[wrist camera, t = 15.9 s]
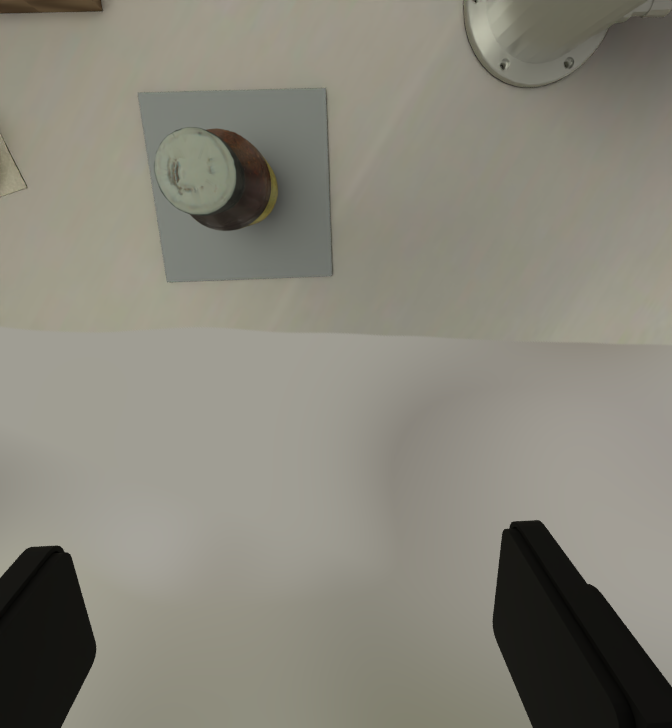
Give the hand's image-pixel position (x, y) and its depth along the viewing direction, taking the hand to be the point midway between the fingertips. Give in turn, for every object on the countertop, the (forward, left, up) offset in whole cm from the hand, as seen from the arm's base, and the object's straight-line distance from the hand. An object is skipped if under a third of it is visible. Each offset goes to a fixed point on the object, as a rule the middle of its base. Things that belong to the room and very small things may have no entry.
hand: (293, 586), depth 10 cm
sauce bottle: (+5, -10, -36) cm, 38 cm away
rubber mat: (+6, -10, -36) cm, 38 cm away
